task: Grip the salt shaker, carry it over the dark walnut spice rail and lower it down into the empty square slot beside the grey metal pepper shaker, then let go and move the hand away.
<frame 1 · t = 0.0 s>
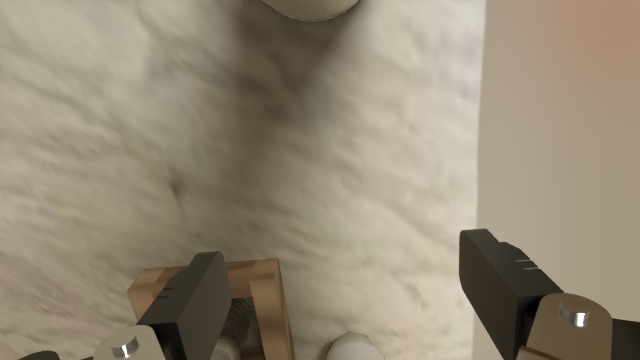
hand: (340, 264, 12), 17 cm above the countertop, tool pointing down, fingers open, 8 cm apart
salt shaker: (353, 346, 36), on the countertop
spice rail: (233, 357, 36), on the countertop
pepper shaker: (223, 315, 34), resting in spice rail
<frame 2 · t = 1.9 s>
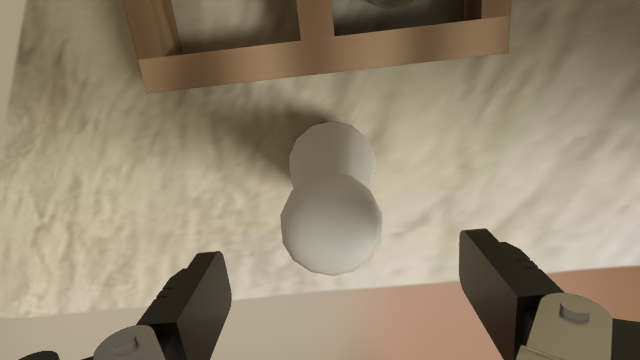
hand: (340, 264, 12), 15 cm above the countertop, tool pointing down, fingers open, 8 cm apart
salt shaker: (332, 155, 27), on the countertop
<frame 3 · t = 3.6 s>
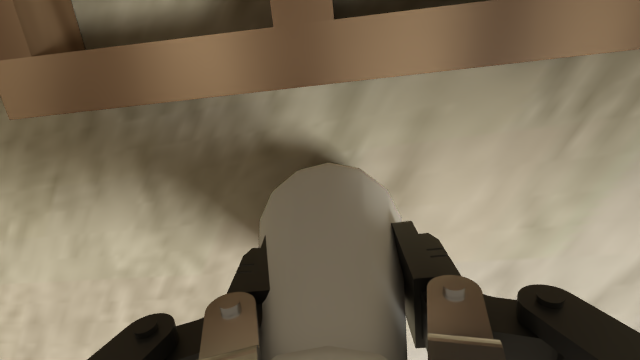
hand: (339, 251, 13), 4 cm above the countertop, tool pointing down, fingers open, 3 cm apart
salt shaker: (330, 207, 17), on the countertop, touching gripper
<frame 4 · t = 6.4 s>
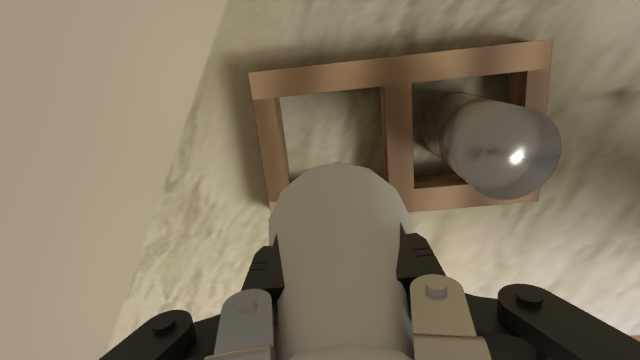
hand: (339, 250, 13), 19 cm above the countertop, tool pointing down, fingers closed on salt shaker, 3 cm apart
salt shaker: (337, 207, 17), point 15 cm above the countertop, touching gripper
spice rail: (393, 132, 31), on the countertop
pepper shaker: (454, 126, 30), resting in spice rail
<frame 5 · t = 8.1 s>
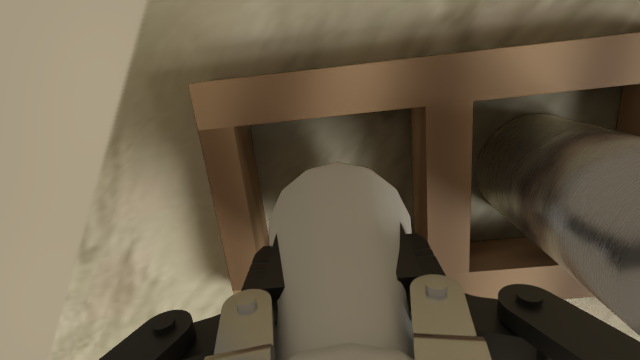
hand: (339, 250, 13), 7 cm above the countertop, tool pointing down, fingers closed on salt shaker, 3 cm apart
salt shaker: (337, 207, 17), point 3 cm above the countertop, touching gripper
spice rail: (431, 175, 19), on the countertop
pepper shaker: (529, 166, 19), resting in spice rail
when the fingers open (5 cm above the countertop, at t = 9.1 s): salt shaker stays where it is, resting in spice rail.
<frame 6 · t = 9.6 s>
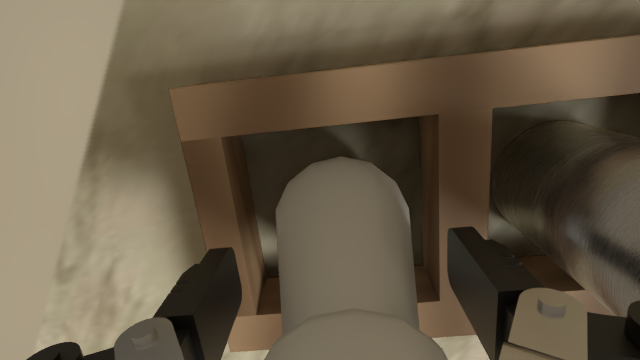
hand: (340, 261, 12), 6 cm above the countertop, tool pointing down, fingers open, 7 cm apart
salt shaker: (339, 200, 18), resting in spice rail
spice rail: (441, 189, 18), on the countertop
pepper shaker: (550, 178, 17), resting in spice rail
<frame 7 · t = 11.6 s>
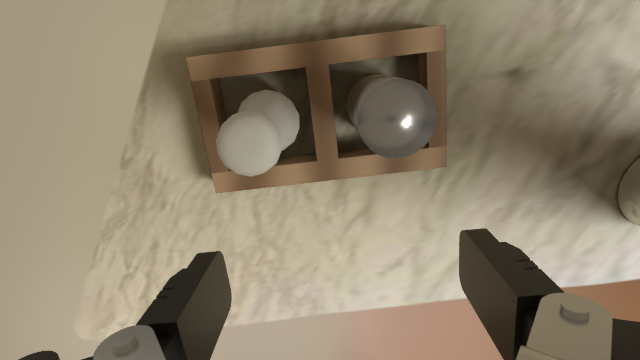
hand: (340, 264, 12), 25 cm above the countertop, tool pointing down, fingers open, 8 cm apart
salt shaker: (271, 118, 35), resting in spice rail
spice rail: (322, 110, 35), on the countertop
pepper shaker: (375, 104, 35), resting in spice rail
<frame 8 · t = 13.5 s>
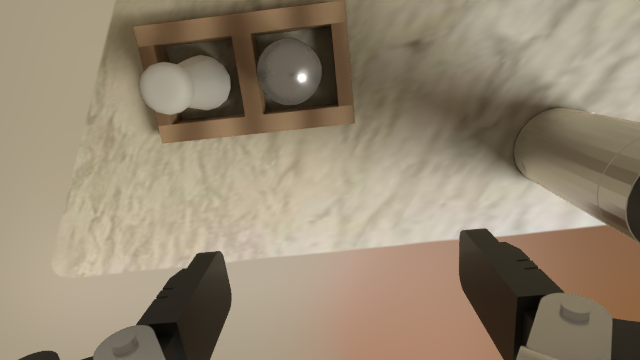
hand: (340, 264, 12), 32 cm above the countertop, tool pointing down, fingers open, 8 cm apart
salt shaker: (211, 81, 42), resting in spice rail
spice rail: (253, 75, 41), on the countertop
pepper shaker: (298, 70, 41), resting in spice rail
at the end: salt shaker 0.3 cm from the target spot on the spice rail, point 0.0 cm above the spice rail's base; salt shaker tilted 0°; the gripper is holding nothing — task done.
